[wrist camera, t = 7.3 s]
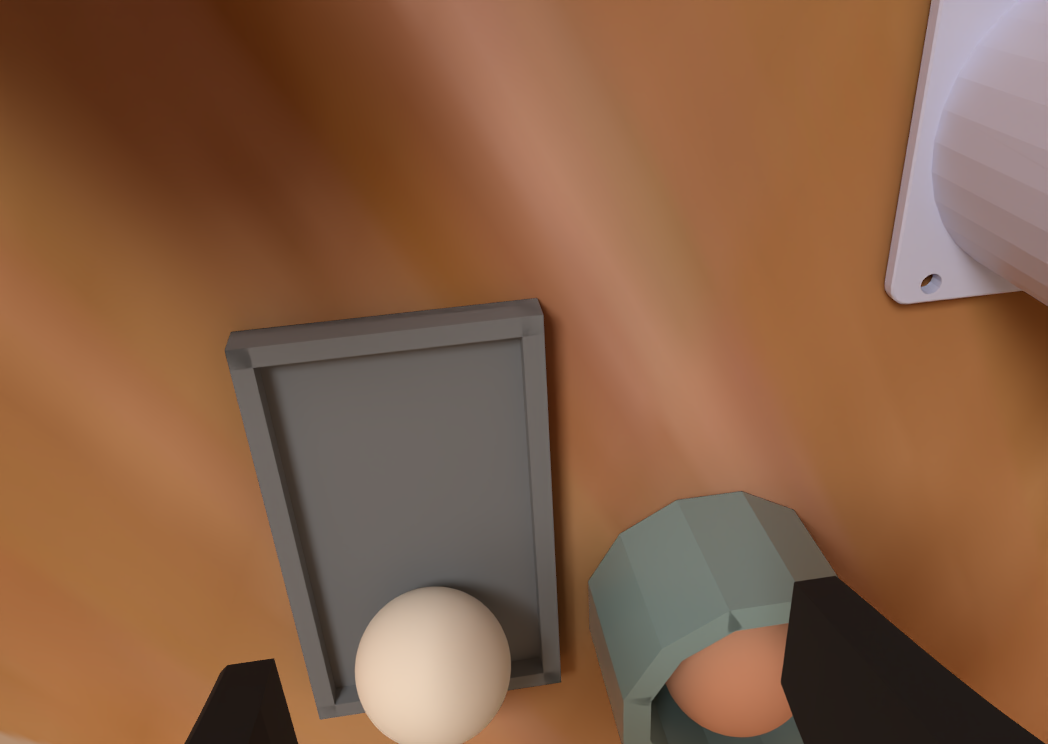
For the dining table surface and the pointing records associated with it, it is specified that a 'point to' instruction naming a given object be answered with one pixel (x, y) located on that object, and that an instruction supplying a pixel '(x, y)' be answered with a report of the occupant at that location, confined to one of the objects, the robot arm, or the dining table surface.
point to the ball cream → (432, 667)
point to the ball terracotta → (735, 683)
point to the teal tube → (692, 603)
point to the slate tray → (405, 475)
